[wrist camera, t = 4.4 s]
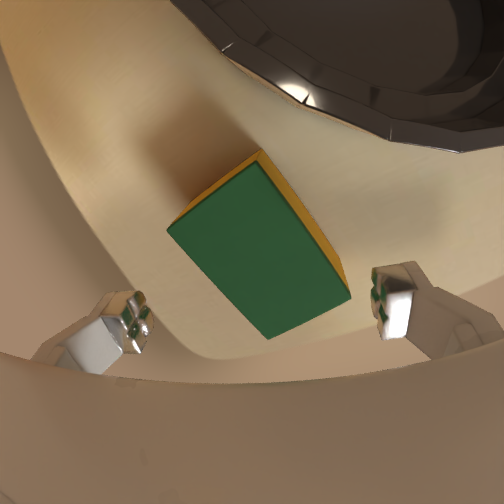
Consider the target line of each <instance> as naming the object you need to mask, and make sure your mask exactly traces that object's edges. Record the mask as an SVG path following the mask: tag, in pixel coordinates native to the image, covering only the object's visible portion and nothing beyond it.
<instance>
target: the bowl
mask: <svg viewBox="0 0 504 504" xmlns="http://www.w3.org/2000/svg"><path fill="white" fill-rule="evenodd" d="M170 1H171V3H172V4H173V5H174V6H175V7H176V8H177V9H178V10H179V11H180V12H181V13H182V14H184V15H185V16H186V17H187V18H188V19H189V20H190V21H191V22H192V23H193V24H194V25H195V26H196V27H197V28H198V30H199V31H200V32H201V33H202V34H203V35H204V36H205V37H206V38H207V39H208V40H209V41H210V42H211V43H212V44H213V45H214V46H215V47H216V49H217V50H218V51H219V52H220V53H221V54H223V55H224V56H225V57H226V58H227V59H229V60H230V61H231V62H232V63H233V64H234V65H236V66H237V67H238V68H239V69H240V70H241V71H243V72H244V73H245V74H246V75H248V76H250V77H251V78H253V79H254V80H256V81H258V82H259V83H261V84H262V85H264V86H265V87H267V88H268V89H270V90H271V91H273V92H274V93H276V94H277V95H279V96H280V97H282V98H283V99H285V100H286V101H288V102H289V103H290V104H292V105H293V106H296V107H297V108H300V109H303V110H306V111H309V112H312V113H314V114H317V115H320V116H322V117H325V118H328V119H330V120H333V121H335V122H338V123H340V124H343V125H345V126H347V127H350V128H353V129H356V130H359V131H362V132H364V133H368V134H370V135H373V136H376V137H379V138H381V139H384V140H387V141H390V142H397V143H404V144H410V145H417V146H423V147H428V148H434V149H439V150H444V151H449V152H454V153H465V152H471V151H476V150H481V149H487V148H493V147H498V146H504V0H170Z"/></svg>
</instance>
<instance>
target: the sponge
mask: <svg viewBox="0 0 504 504" xmlns="http://www.w3.org/2000/svg"><path fill="white" fill-rule="evenodd" d="M167 232H168V233H169V234H170V236H171V237H172V238H173V239H174V240H175V241H176V242H177V243H178V245H179V246H180V247H181V248H182V249H183V250H184V251H185V252H186V254H187V255H188V256H189V257H190V258H191V259H192V260H193V261H194V262H195V264H196V265H197V266H198V267H199V268H200V269H201V270H202V271H203V272H204V273H205V275H206V276H207V277H208V278H209V279H210V280H211V281H212V282H213V283H214V284H215V285H216V286H217V288H218V289H219V290H220V291H221V292H222V293H223V294H224V295H225V296H226V297H227V298H228V299H229V300H230V301H231V302H232V304H233V305H234V306H235V307H236V308H237V309H238V310H239V311H240V312H241V313H242V314H243V315H244V316H245V317H246V318H247V319H248V320H249V321H250V322H251V323H252V324H253V325H254V326H255V327H256V328H257V329H258V330H259V331H260V333H261V334H262V335H263V336H264V337H265V338H266V339H268V340H269V339H271V338H273V337H276V336H278V335H280V334H282V333H284V332H286V331H288V330H291V329H293V328H295V327H297V326H299V325H301V324H303V323H305V322H307V321H309V320H311V319H313V318H315V317H317V316H319V315H321V314H323V313H325V312H327V311H329V310H331V309H333V308H335V307H337V306H339V305H341V304H342V303H344V302H346V301H348V300H350V299H351V294H350V291H349V287H348V284H347V280H346V277H345V274H344V271H343V267H342V264H341V261H340V258H339V257H338V255H337V254H336V252H335V251H334V249H333V248H332V246H331V245H330V243H329V242H328V240H327V239H326V237H325V236H324V234H323V233H322V231H321V230H320V228H319V227H318V225H317V224H316V222H315V221H314V219H313V218H312V217H311V215H310V214H309V212H308V211H307V209H306V208H305V206H304V205H303V204H302V202H301V201H300V199H299V198H298V197H297V195H296V194H295V192H294V191H293V190H292V188H291V187H290V185H289V184H288V183H287V181H286V180H285V179H284V177H283V176H282V175H281V173H280V172H279V171H278V169H277V168H276V166H275V165H274V164H273V162H272V161H271V160H270V159H269V157H268V156H267V155H266V153H265V152H264V151H263V149H260V150H259V151H258V152H256V153H255V154H253V155H252V156H251V157H249V158H248V159H246V160H245V161H244V162H242V163H241V164H240V165H238V166H237V167H236V168H234V169H233V170H231V171H230V172H229V173H227V174H226V175H225V176H223V177H222V178H221V179H220V180H218V181H217V182H216V183H214V184H213V185H212V186H210V187H209V188H208V189H207V190H205V191H204V192H203V193H201V194H200V195H199V196H198V197H196V198H195V199H194V200H193V201H191V202H190V203H189V204H188V206H187V207H186V208H185V209H184V210H183V211H182V212H181V213H180V215H179V216H178V217H177V218H176V219H175V220H174V221H173V222H172V224H171V225H170V226H169V227H168V228H167Z"/></svg>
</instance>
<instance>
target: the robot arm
mask: <svg viewBox="0 0 504 504" xmlns="http://www.w3.org/2000/svg"><path fill="white" fill-rule="evenodd" d="M371 279H372V282H373V284H374V286H373V288H372V289H371V308H372V312H373V315H374V317H375V318H376V319H378V322H377V328H378V330H379V334H380V337H381V340H387V339H394V338H401V337H406V338H407V339H408V340H409V341H410V342H412V343H413V344H414V345H415V346H416V347H417V348H419V349H420V350H421V351H422V352H423V353H425V354H426V355H427V356H428V357H429V358H430V359H431V360H429V361H426V362H421V363H416V364H412V365H408V366H402V367H397V368H393V369H387V370H382V371H376V372H370V373H364V374H357V375H350V376H343V377H335V378H326V379H316V380H305V381H291V382H276V383H275V382H274V383H246V384H210V383H181V382H165V381H152V380H142V379H131V378H123V377H115V376H108V375H101V374H102V373H103V372H104V371H105V370H106V369H107V368H108V367H109V366H110V365H112V363H114V362H115V361H116V360H117V359H118V358H119V357H120V356H121V355H122V353H128V354H141V352H142V350H143V348H144V346H145V344H146V342H147V341H146V338H145V337H147V336H148V335H149V334H150V333H151V332H152V330H153V328H154V317H153V314H152V311H151V309H150V308H148V307H147V306H146V305H145V303H146V298H145V296H144V294H143V293H142V292H140V291H121V292H108V293H106V294H105V295H104V297H103V298H102V299H101V300H100V302H99V303H98V304H97V305H96V307H95V308H94V309H93V311H92V312H91V313H90V315H89V316H87V317H84V318H82V319H80V320H79V321H77V322H76V323H74V324H72V325H71V326H69V327H68V328H66V329H64V330H63V331H61V332H60V333H58V334H56V335H55V336H53V337H52V338H50V339H49V340H47V341H45V342H44V343H43V344H42V345H41V346H40V348H39V349H38V350H37V352H36V353H35V355H34V356H33V357H32V358H31V360H27V359H23V358H20V357H16V356H12V355H9V354H6V353H2V352H0V504H504V331H503V329H502V328H501V326H500V324H499V323H498V321H497V320H496V318H495V317H494V316H493V314H491V313H489V312H487V311H485V310H483V309H481V308H479V307H477V306H475V305H473V304H471V303H469V302H467V301H465V300H463V299H461V298H459V297H457V296H455V295H453V294H451V293H449V292H447V291H445V290H443V289H441V288H439V287H433V286H432V284H431V283H430V281H429V280H428V278H427V277H426V275H425V274H424V272H423V271H422V270H421V268H420V267H419V265H418V264H417V262H415V261H410V262H404V263H399V264H393V265H387V266H381V267H375V268H372V276H371Z"/></svg>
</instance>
